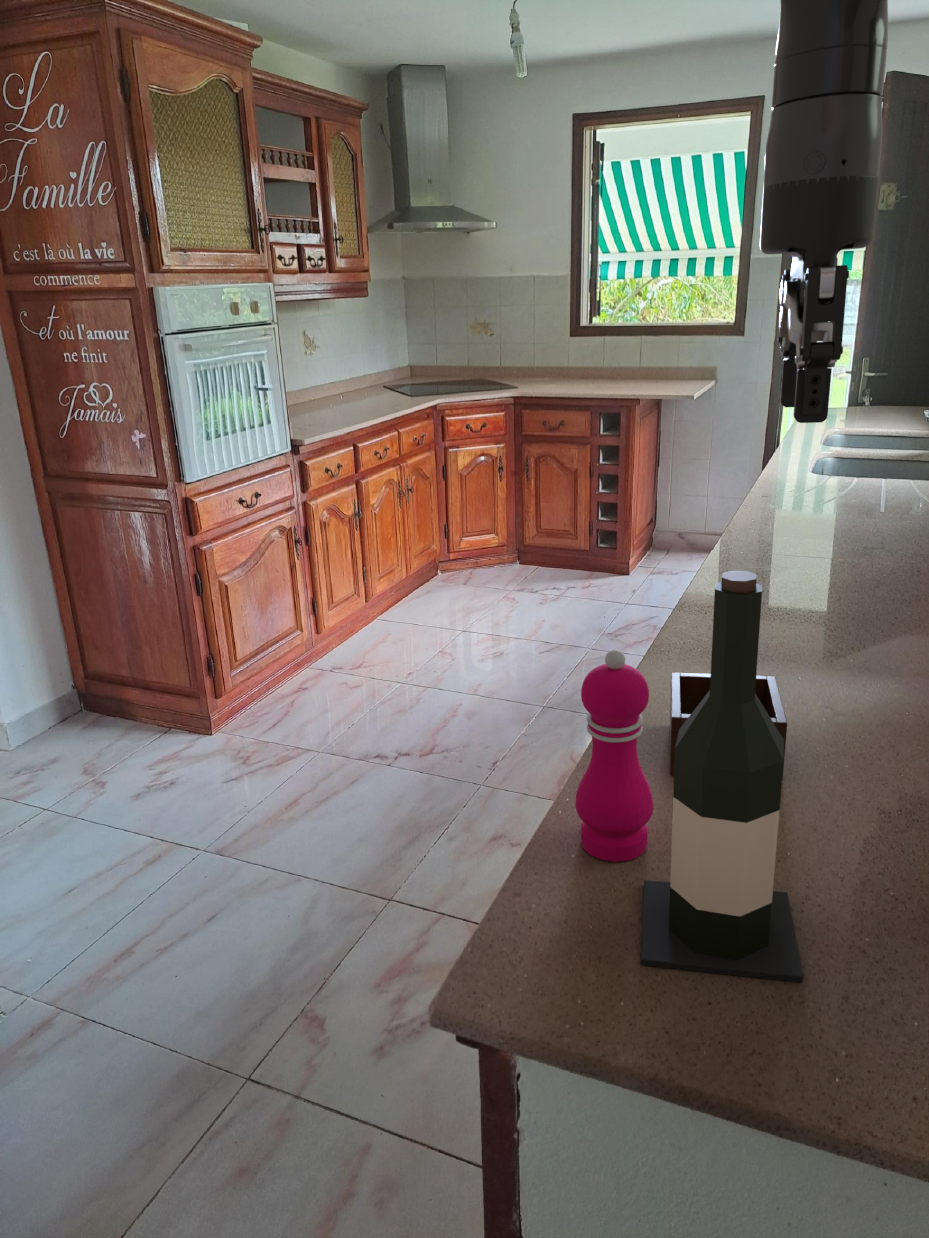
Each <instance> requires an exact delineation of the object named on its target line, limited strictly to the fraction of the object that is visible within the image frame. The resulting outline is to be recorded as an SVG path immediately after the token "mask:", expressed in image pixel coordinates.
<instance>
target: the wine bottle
mask: <svg viewBox="0 0 929 1238" xmlns="http://www.w3.org/2000/svg"><path fill="white" fill-rule="evenodd" d="M757 579H758V574H757V573H754V572H752V571H748V570H730V571H724V572H722V574H721V581H718V582H716V583H715V586H714V597H713V598H714V599H713V619H712V638H711V640H712V641H711V660H710V661H711V662H710V674H711V678H710V691H709V692H708V693H707V694H706V696H705V697H704V698H703V700H702V701H701V702H700V703H699V705H698V706H697V707H696V708H695V710H694V711H693V712H692V714H691V715H690V716H689V717H688V719H687V720H686V721H685V723H684V724H683V725H682V726H681V728H680V729H679V733H678V737H677V742H676V746H675V761H674V775H673V791H672V793H673V795H672V823H671V848H670V849H671V854H670V881H669V882H670V908H669V930H671V931H672V932H673V933H674V934H675V935H676V936H677V937H678V938H679V939H680V940H681V941H683V942H684V943H685V944H686V945H687V946H688V947H689V948H690V949H691V950H692V951H693V952H694V953H699V954H704V955H710V956H715V957H721V958H727V959H732V960H739V959H741V958H743V957H746V956H748V955H750V954H752V953H754V952H756V951H758V950H761V949H763V948H765V947H767V946H768V943H769V931H770V919H771V907H772V895H773V891H774V883H775V871H776V870H775V869H776V857H777V847H778V835H779V822H780V812H781V811H780V810H781V799H782V787H783V781H782V776H783V777H784V770H783V764H784V765H785V758H784V740H783V738H782V736H781V735H780V733H779V731H778V730H777V728H776V726H775V725H774V723H773V721H772V720H771V718H770V716H769V715H768V713H767V711H766V710H765V708H764V707H763V705H762V703H761V702H760V700H759V698H758V697H757V695H756V693H755V687H756V676H757V671H758V659H759V658H758V656H759V643H760V642H759V641H760V630H761V629H760V627H761V625H760V624H761V611H762V600H763V599H762V598H763V585H762V584H761V583H757Z"/></svg>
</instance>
